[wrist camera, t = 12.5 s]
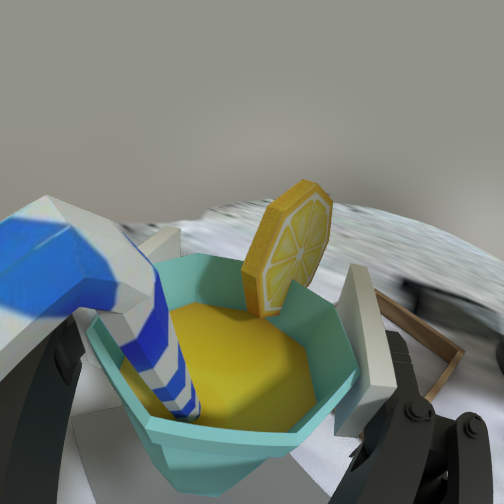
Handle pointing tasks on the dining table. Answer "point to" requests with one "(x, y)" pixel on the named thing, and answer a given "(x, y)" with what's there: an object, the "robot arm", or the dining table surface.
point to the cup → (189, 331)
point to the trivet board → (155, 484)
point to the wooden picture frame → (421, 339)
